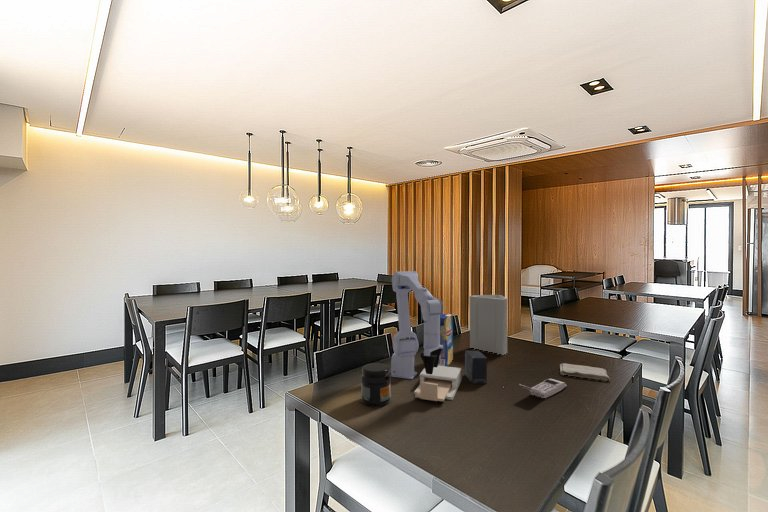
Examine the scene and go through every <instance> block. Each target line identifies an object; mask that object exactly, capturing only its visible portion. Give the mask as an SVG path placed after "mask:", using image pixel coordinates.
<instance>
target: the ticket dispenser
mask: <svg viewBox="0 0 768 512" xmlns="http://www.w3.org/2000/svg"><path fill="white" fill-rule="evenodd" d="M462 373H463V372H462V367H455V366H447V367H446V366H438V367H434V368H433V373H432V374H426V371H425V367H424V368H423V369H422V371H421V372H420V374H418V376H419V383H420V382H425V381H426V380H435V381H443V382H451V383H452V386H451V388H450V390H449V392H448V394H447V396H446V398H445V400H449V401H453V400H454V398H455V395H456V393H457V391H458V388H459V387H460V385H461V382H462V380H463V379H462ZM419 389H420V384H419V385H418V386H417V388H416V389H415V390H414V392H413V395H414V396H415V395H416V393H417V392H418V391H419Z"/></svg>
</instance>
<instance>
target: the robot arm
mask: <svg viewBox="0 0 768 512" xmlns="http://www.w3.org/2000/svg"><path fill="white" fill-rule="evenodd" d="M391 286H392V291H393V292H395V293H396V294H395V295H396V297H395V298H396V305H397V307H396V308H397V319H398V320H397V321H398V329H399V330H398V331H397V332H396V333H395V334H394V335H393V337H392V339H393V340H392V341H393V342H392V349H393V352H394V353H392V355H391V360H390V369H391V370H390V376H391V378H392V377H393V378H399V379H408V380H412V379H414V377H416V376H417V374H418V372H417V371H415V356H416V355H417V353H418V351H419V347H420V346H419V340H418V337H417V334H416V333H415V332H413V331H412V329H411V328H412V327H411V317H410V306H409V292H411V291H412V292H413V293H414V299H415V300H416V301H417V302H418V304H419V305H420V312H421V316H422V320H423V344H422V345H423V349H424V350H423V352H421V353H420V355H419V356H420V359H421V360H422V363H423V364H424V365H423V366H424V368H425V371H426V374H432V373H433V368H434V367H438V362H439V357H440V354H441V351H442V349H443V345H440V315H441V314H443V312H444V304H443V302H442V300H441V299H440V298H436V297H434V296H433V295H432V294H431V292H430V291H429V290H428V288H426V287H423V286H422V285H421V283H420V281H419V275H418V272H417V271H416V270H411V271H410V270H409V271H408V270H407V271H406V270H405V271H403V270H402V271H393V274H392V275H391Z"/></svg>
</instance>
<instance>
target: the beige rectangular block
mask: <svg viewBox="0 0 768 512" xmlns="http://www.w3.org/2000/svg"><path fill="white" fill-rule="evenodd" d="M419 385H420V389H419V391H418V392H417V393H416V395H414V397H415V398H418V399H420V400H427V401H433V402H438V401H439V402H445V400H446V399H445V398H446V396H447V394H448V392H449V390H450V388H451V386H452V383H451V382H443V381H435V380H426V381H425V382H420V381H419Z"/></svg>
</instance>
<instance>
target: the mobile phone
mask: <svg viewBox="0 0 768 512" xmlns="http://www.w3.org/2000/svg"><path fill="white" fill-rule="evenodd" d="M518 385H519V386H521V387H522V388H524V389H526V390H528V391H530V395H531V396H534V395H535V397H537V398H540V397H541V399H543V398H545V399H547V398H549V397H551V396H553V395H555V394H557V393H559V392H561V391H562V390H564V389H565V388H566V387H568V385H567V384H566V382H564V381H560V380H557V379H553V378H547V379H545V380H543V381H542V382H540V383H538V384H536V385H534V386H532V387H529V386H527V385H523V384H521V383H519V384H518Z"/></svg>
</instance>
